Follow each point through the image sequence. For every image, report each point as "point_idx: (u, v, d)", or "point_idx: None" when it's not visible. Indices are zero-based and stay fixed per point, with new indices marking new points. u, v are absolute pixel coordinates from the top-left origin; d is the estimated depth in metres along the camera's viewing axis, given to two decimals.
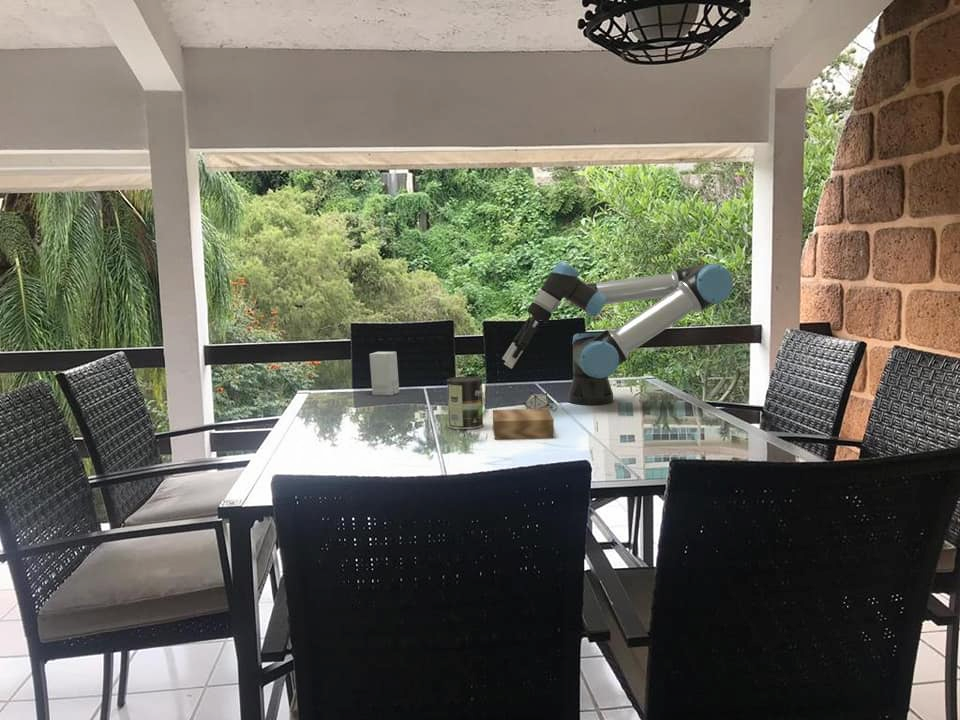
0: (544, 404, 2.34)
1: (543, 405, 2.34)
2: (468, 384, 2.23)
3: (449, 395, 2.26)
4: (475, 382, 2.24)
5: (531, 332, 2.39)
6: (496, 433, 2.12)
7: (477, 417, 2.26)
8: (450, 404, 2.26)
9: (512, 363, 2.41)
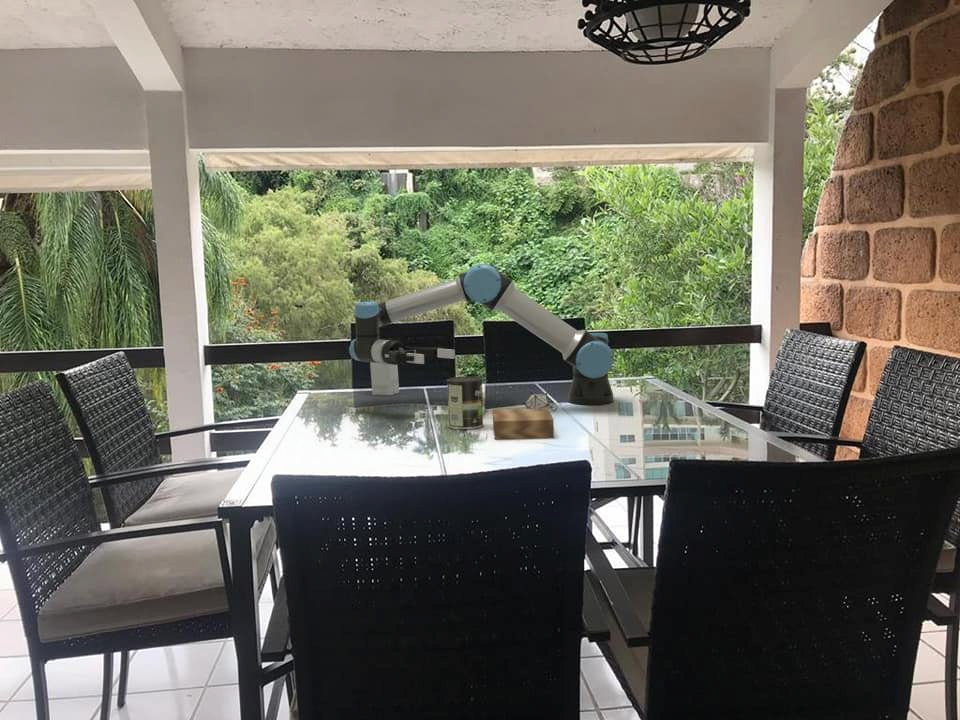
0: (544, 404, 2.34)
1: (543, 405, 2.34)
2: (468, 384, 2.23)
3: (449, 395, 2.26)
4: (475, 382, 2.24)
5: (390, 355, 2.35)
6: (496, 433, 2.12)
7: (477, 417, 2.26)
8: (450, 404, 2.26)
9: (418, 356, 2.29)
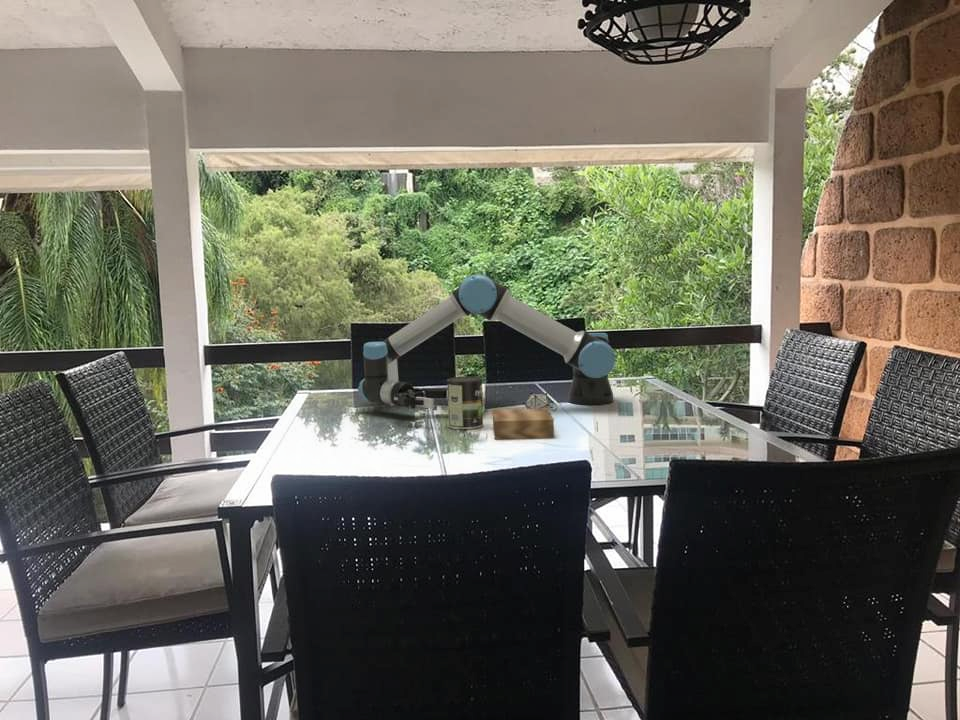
0: (544, 404, 2.34)
1: (543, 405, 2.34)
2: (468, 384, 2.23)
3: (449, 395, 2.26)
4: (475, 382, 2.24)
5: (399, 399, 2.34)
6: (496, 433, 2.12)
7: (477, 417, 2.26)
8: (450, 404, 2.26)
9: (428, 400, 2.28)
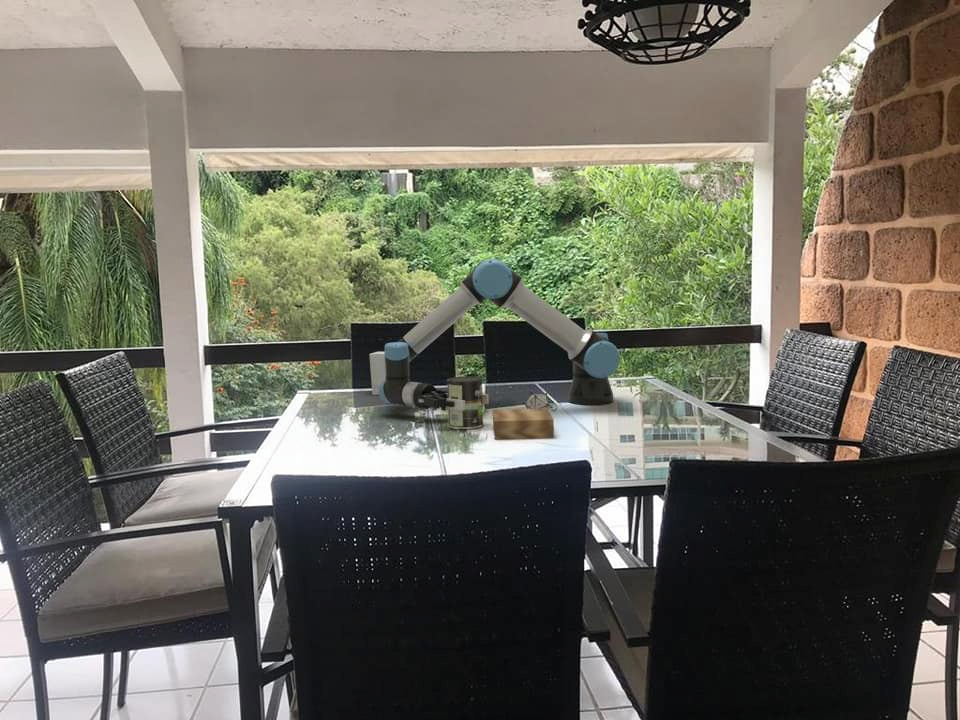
0: (544, 404, 2.34)
1: (543, 405, 2.34)
2: (468, 384, 2.23)
3: (449, 395, 2.26)
4: (475, 382, 2.24)
5: (426, 400, 2.29)
6: (496, 433, 2.12)
7: (477, 417, 2.26)
8: None
9: (459, 402, 2.22)
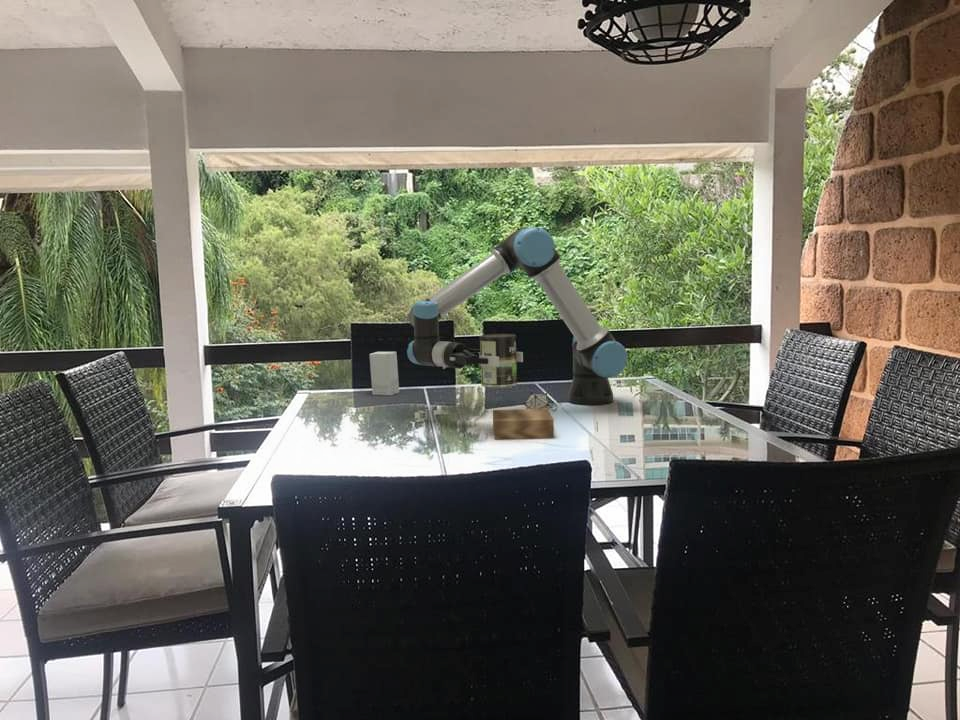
0: (544, 404, 2.34)
1: (543, 405, 2.34)
2: (502, 340, 2.14)
3: (482, 352, 2.17)
4: (509, 338, 2.15)
5: (458, 358, 2.20)
6: (496, 433, 2.12)
7: (511, 375, 2.17)
8: None
9: (493, 359, 2.14)
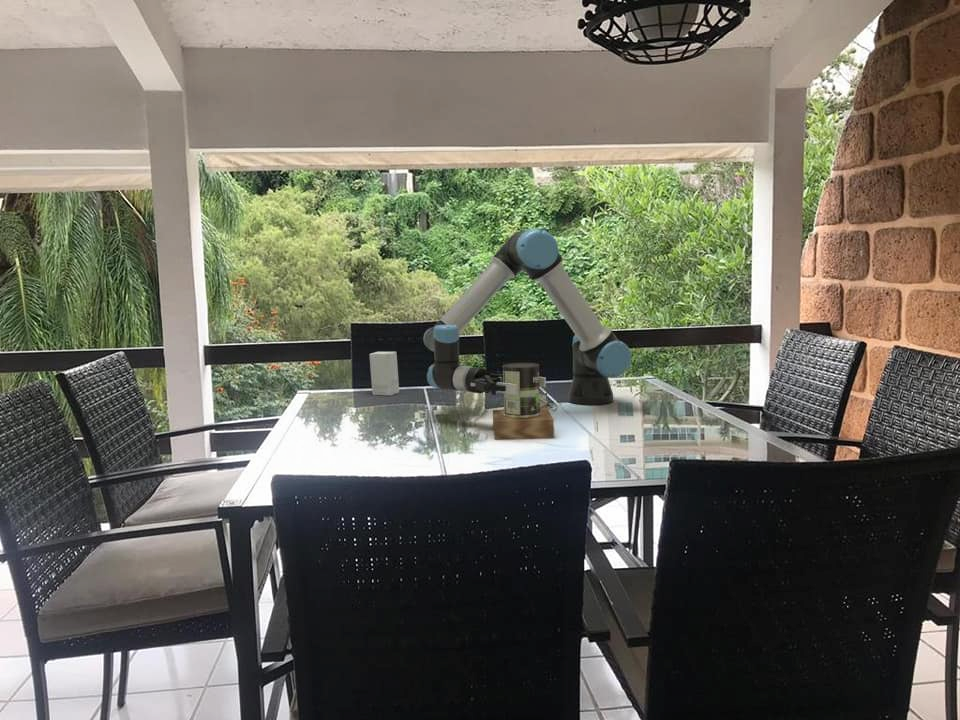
0: (544, 404, 2.34)
1: (543, 405, 2.34)
2: (525, 370, 2.13)
3: (505, 382, 2.16)
4: (533, 368, 2.13)
5: (477, 384, 2.18)
6: (496, 433, 2.12)
7: (534, 405, 2.15)
8: None
9: (510, 386, 2.11)
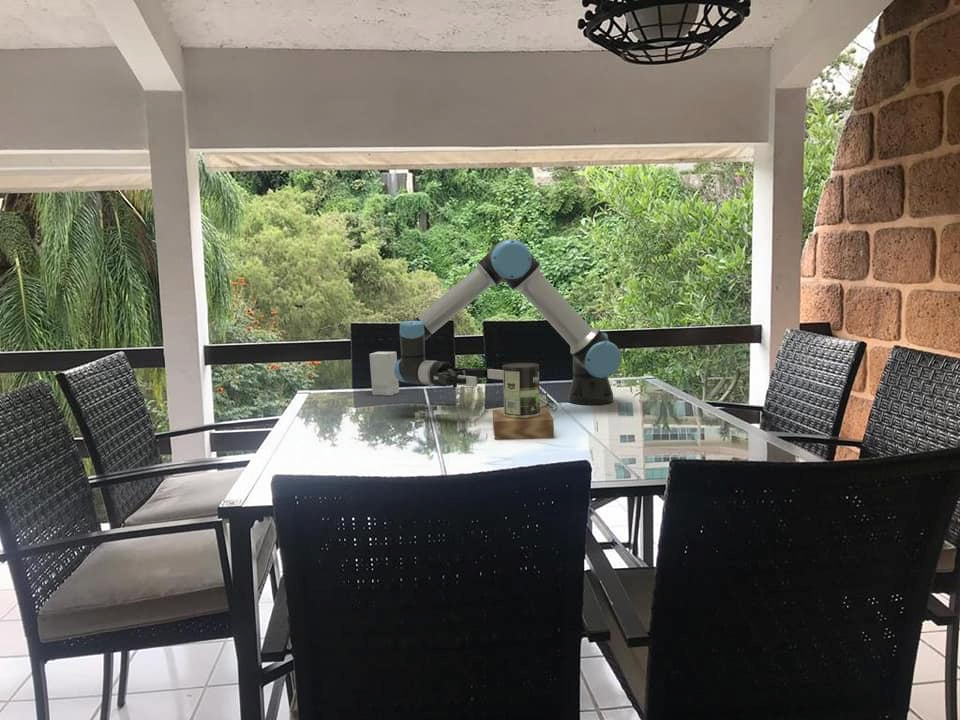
0: (544, 404, 2.34)
1: (543, 405, 2.34)
2: (525, 370, 2.13)
3: (505, 382, 2.16)
4: (533, 368, 2.14)
5: (440, 378, 2.27)
6: (496, 433, 2.12)
7: (534, 405, 2.15)
8: (506, 391, 2.16)
9: (470, 379, 2.20)
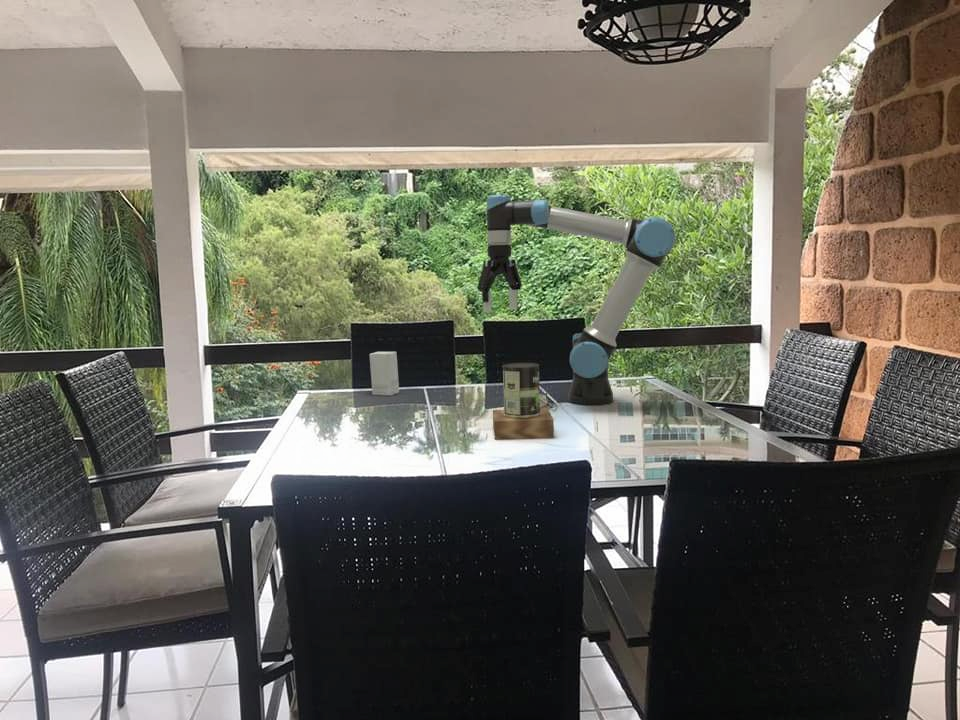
0: (544, 404, 2.34)
1: (543, 405, 2.34)
2: (525, 370, 2.13)
3: (505, 382, 2.16)
4: (533, 368, 2.14)
5: (485, 271, 2.44)
6: (496, 433, 2.12)
7: (534, 405, 2.15)
8: (506, 391, 2.16)
9: (488, 307, 2.45)
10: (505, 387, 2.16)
